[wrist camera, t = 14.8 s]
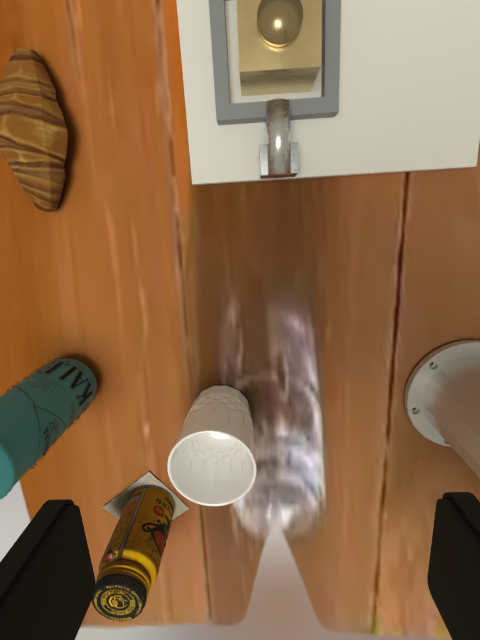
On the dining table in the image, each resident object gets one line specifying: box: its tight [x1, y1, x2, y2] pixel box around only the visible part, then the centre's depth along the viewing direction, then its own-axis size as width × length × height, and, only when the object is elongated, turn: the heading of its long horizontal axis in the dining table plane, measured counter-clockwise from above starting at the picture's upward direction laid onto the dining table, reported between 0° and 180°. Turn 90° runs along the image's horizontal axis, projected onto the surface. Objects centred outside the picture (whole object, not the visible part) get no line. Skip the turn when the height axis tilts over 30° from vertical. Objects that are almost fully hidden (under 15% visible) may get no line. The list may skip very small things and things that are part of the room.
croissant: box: [0, 47, 68, 212], centre depth 30 cm, size 14×7×5 cm, turn 179°
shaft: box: [259, 99, 298, 179], centre depth 30 cm, size 6×3×4 cm, turn 3°
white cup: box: [167, 386, 256, 506], centre depth 35 cm, size 8×8×10 cm
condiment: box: [92, 472, 189, 621], centre depth 38 cm, size 7×8×12 cm
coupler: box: [237, 0, 322, 96], centre depth 27 cm, size 6×6×6 cm
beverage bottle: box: [0, 358, 97, 499], centre depth 30 cm, size 6×7×20 cm
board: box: [177, 0, 480, 185], centre depth 29 cm, size 26×20×2 cm
